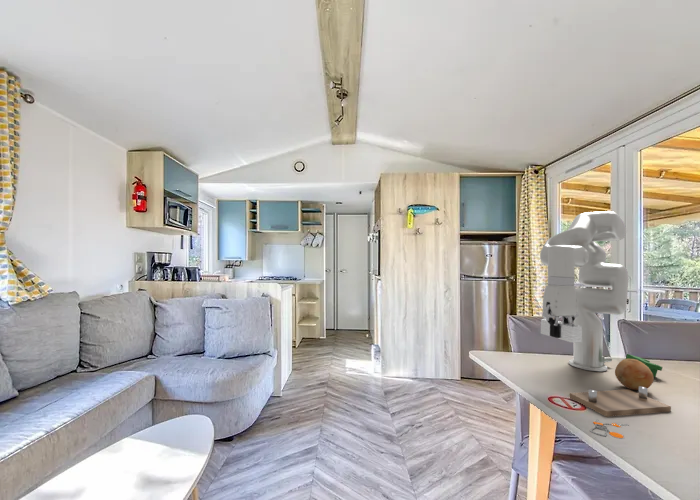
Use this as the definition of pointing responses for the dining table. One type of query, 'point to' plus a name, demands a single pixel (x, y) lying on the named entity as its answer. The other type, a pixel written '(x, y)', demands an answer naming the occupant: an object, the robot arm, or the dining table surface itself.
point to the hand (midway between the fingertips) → (560, 336)
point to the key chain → (614, 434)
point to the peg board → (620, 402)
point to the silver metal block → (564, 331)
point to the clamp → (651, 366)
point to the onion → (633, 374)
